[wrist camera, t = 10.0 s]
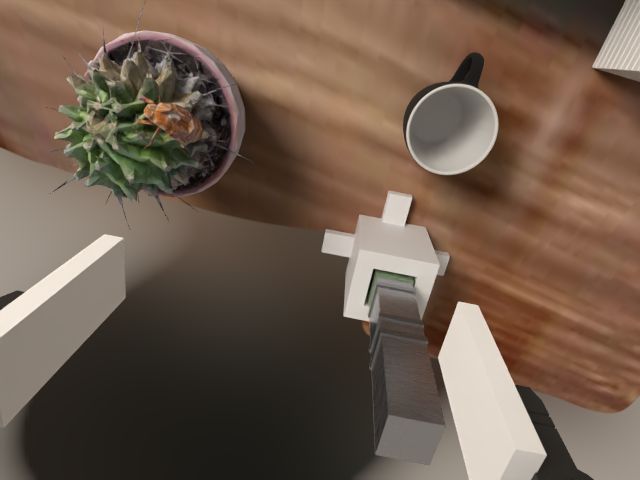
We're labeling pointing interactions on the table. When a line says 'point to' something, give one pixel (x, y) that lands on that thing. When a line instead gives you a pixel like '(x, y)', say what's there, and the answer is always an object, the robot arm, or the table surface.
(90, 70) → the potted plant
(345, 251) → the housing
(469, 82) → the mug
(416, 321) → the post
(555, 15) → the table surface
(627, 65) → the stack of papers
